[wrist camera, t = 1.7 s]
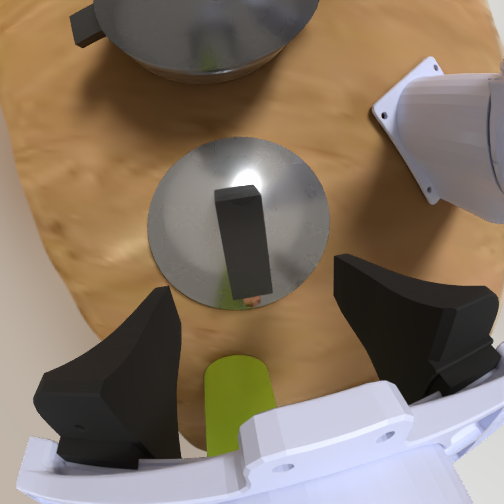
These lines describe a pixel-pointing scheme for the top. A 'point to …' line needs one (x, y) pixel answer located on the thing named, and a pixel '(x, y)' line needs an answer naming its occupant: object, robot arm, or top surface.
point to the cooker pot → (195, 34)
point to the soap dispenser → (234, 399)
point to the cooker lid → (238, 223)
